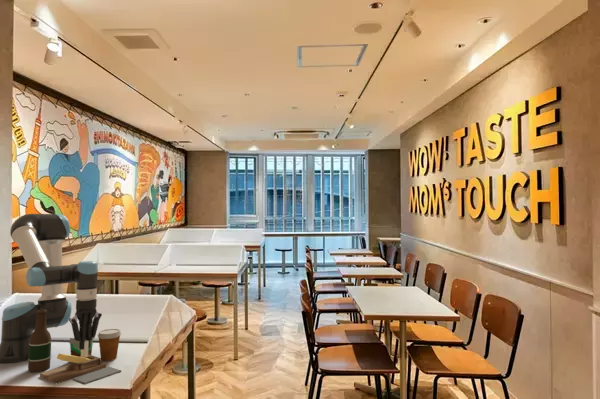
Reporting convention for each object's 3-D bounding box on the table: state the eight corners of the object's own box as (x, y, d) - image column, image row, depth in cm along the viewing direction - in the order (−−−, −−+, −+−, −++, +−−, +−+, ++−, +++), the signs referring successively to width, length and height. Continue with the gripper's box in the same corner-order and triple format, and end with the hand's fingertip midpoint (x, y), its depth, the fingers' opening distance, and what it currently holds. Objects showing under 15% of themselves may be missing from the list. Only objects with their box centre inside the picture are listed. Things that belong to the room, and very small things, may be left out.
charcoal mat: (73, 379, 154) (73, 378, 154) (109, 367, 166) (109, 366, 166) (84, 384, 149) (84, 382, 149) (121, 371, 162) (121, 370, 162)
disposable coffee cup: (104, 364, 171) (105, 335, 171) (92, 359, 176) (93, 332, 177) (125, 357, 179) (125, 330, 180) (112, 353, 184) (113, 327, 185)
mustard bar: (55, 357, 158) (68, 342, 162) (73, 373, 164) (86, 358, 168) (61, 359, 155) (75, 344, 160) (80, 376, 161) (93, 361, 166)
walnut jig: (39, 377, 156) (40, 366, 156) (89, 362, 173) (89, 352, 173) (56, 383, 150) (56, 372, 150) (106, 367, 167) (106, 357, 167)
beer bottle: (29, 367, 166) (32, 309, 168) (51, 365, 169) (54, 307, 171) (25, 374, 159) (28, 312, 160) (48, 371, 162) (50, 311, 163)
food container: (80, 363, 172) (81, 339, 172) (68, 362, 173) (69, 338, 173) (100, 354, 184) (101, 331, 184) (88, 353, 185) (89, 331, 186)
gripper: (75, 302, 159) (73, 363, 158) (106, 297, 170) (104, 353, 169) (65, 300, 163) (63, 359, 161) (96, 295, 174) (94, 350, 173)
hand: (84, 356), depth 165 cm, fingers closed
